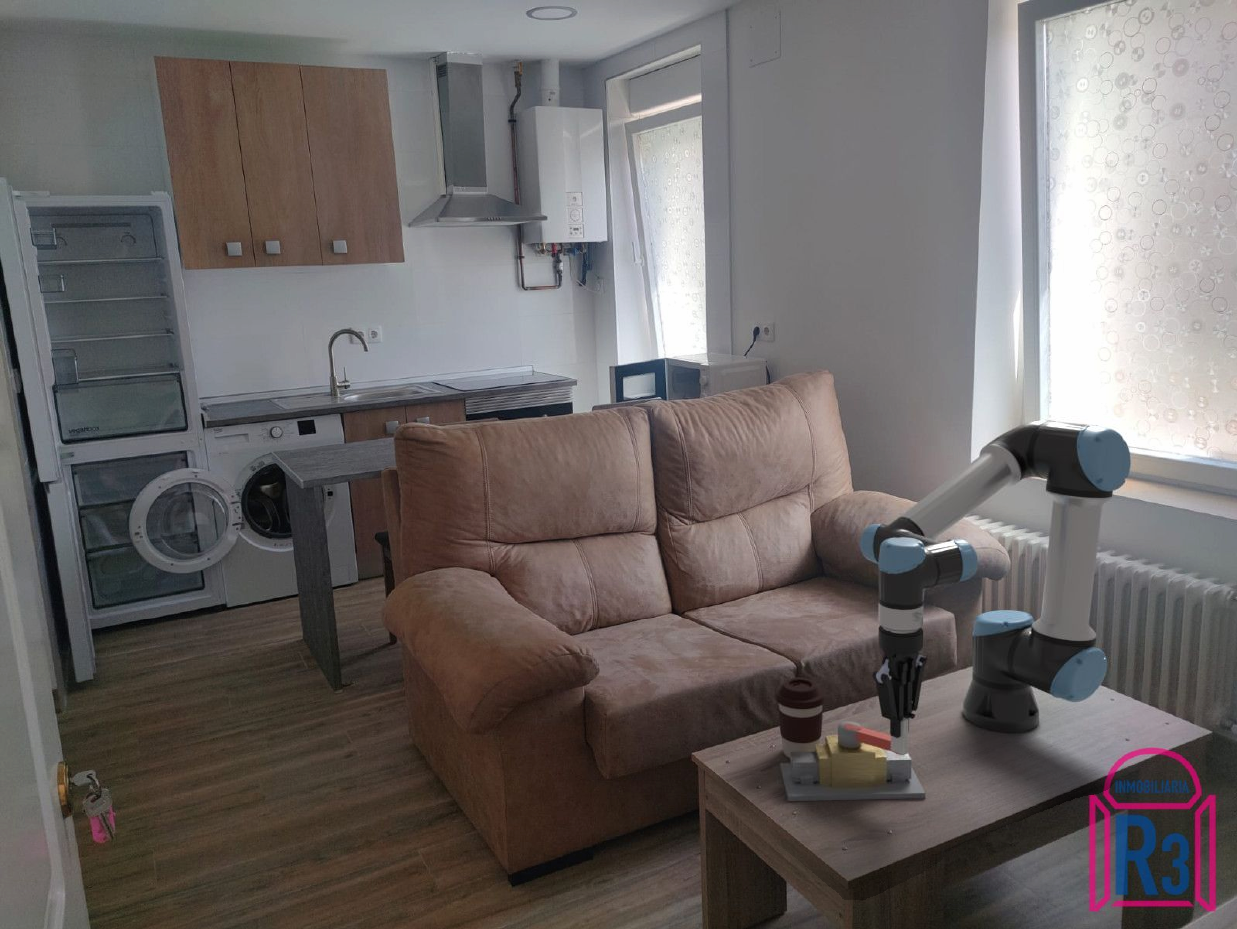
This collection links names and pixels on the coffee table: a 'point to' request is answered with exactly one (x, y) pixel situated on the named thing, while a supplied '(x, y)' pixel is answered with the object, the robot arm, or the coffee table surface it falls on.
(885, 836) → the coffee table surface
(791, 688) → the coffee cup
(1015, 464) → the robot arm
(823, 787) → the mount board
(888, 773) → the pipe valve
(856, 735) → the lever
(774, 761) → the coffee table surface
